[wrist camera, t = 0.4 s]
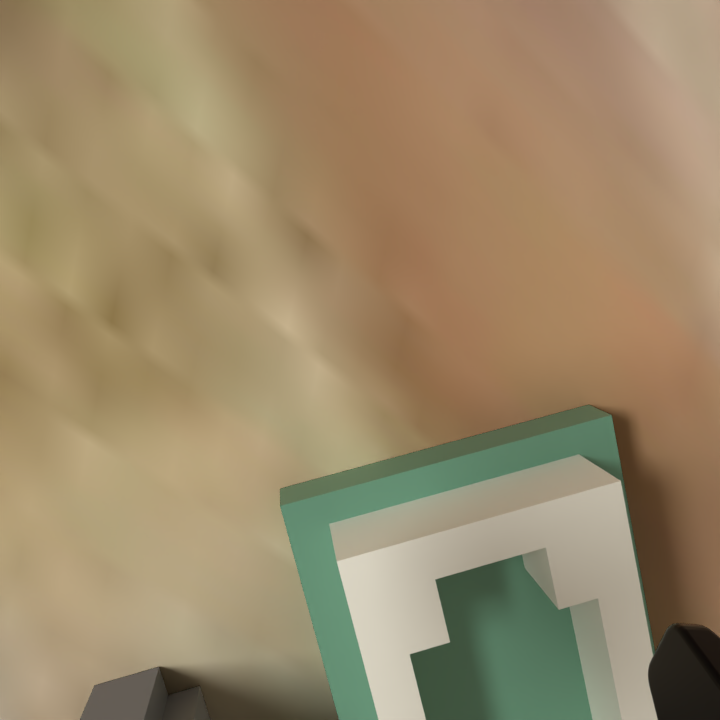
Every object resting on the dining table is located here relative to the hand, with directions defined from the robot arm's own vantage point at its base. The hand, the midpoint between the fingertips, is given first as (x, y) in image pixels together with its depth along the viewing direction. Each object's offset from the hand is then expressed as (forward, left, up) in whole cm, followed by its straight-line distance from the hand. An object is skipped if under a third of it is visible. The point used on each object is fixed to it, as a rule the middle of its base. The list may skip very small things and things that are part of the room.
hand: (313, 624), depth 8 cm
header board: (-8, -4, -12) cm, 15 cm away
